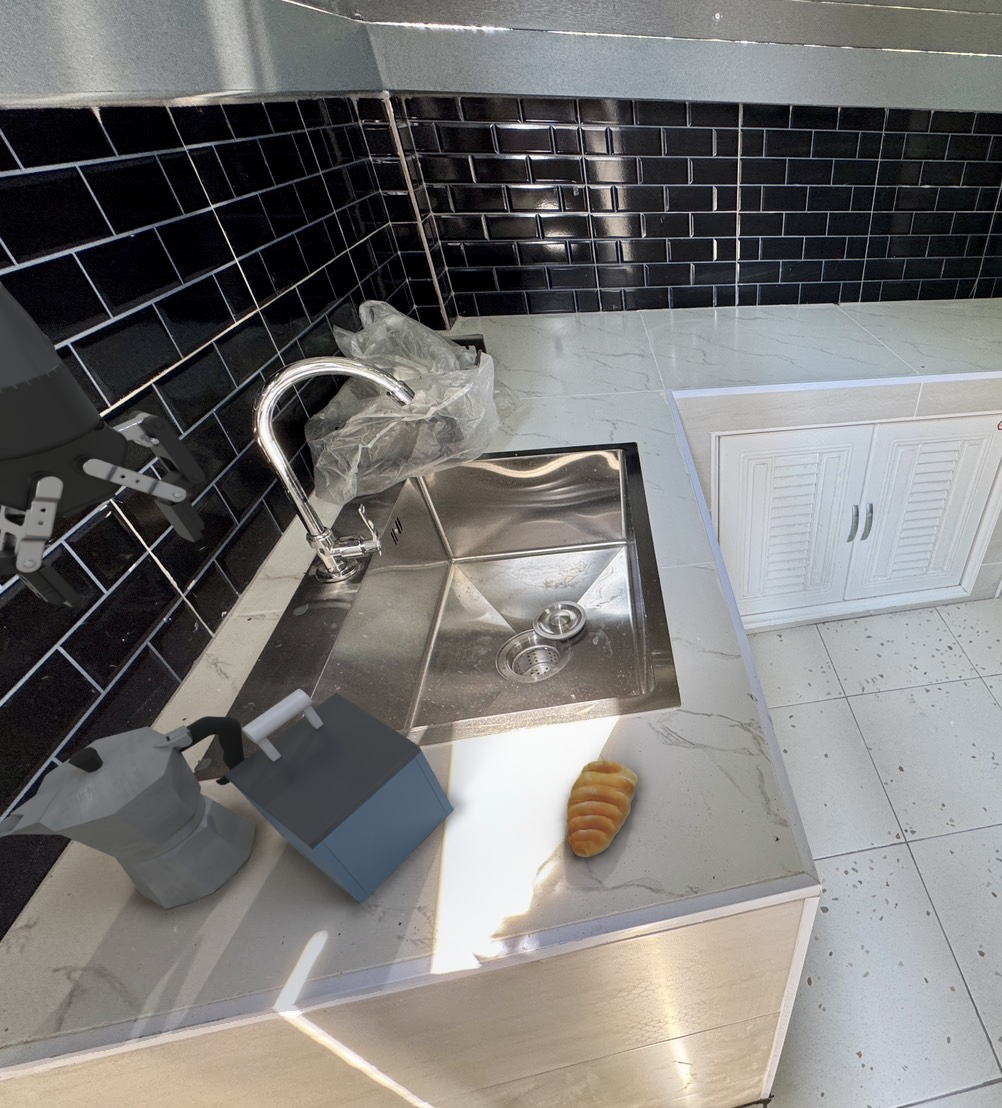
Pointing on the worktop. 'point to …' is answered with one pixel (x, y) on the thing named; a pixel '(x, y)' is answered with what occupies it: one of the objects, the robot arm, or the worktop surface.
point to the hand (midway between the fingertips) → (135, 567)
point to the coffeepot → (146, 810)
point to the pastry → (599, 806)
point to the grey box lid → (319, 763)
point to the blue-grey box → (377, 830)
